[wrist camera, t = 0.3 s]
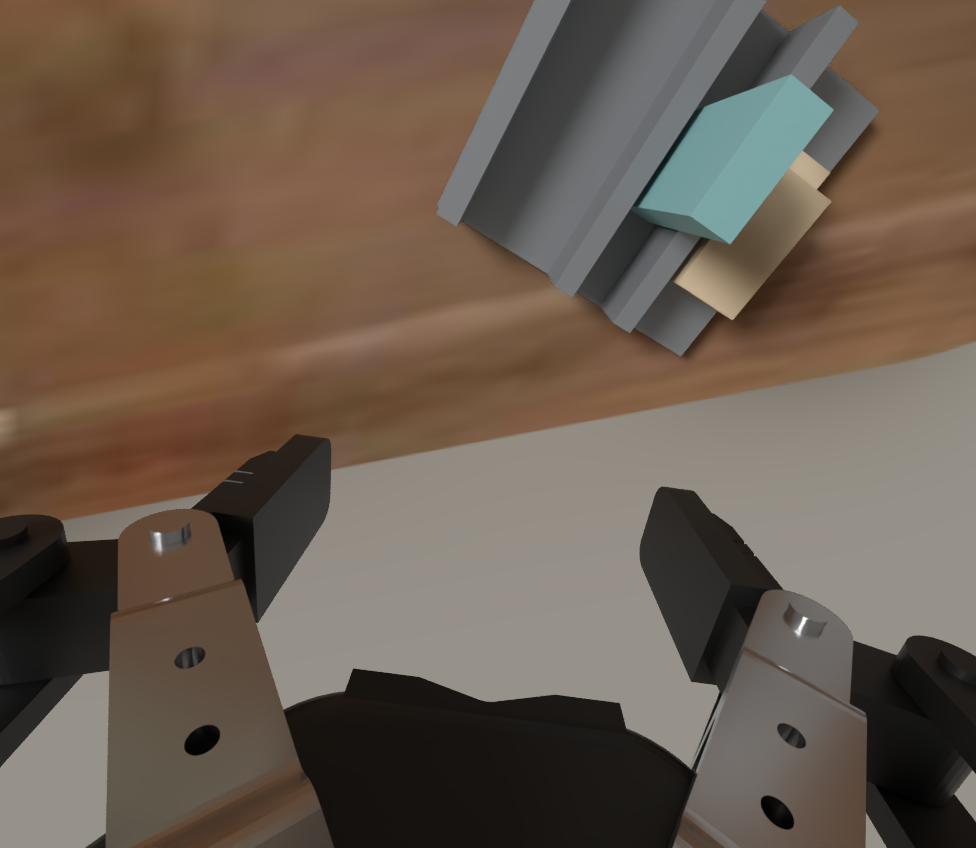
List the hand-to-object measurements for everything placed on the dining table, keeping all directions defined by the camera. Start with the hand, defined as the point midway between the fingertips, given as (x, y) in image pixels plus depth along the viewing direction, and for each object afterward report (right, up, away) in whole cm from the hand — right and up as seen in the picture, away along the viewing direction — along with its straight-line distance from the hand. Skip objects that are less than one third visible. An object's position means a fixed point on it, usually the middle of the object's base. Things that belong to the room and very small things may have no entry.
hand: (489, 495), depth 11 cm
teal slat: (+10, +16, +15) cm, 24 cm away
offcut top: (+14, +12, +15) cm, 24 cm away
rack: (+9, +17, +16) cm, 25 cm away
